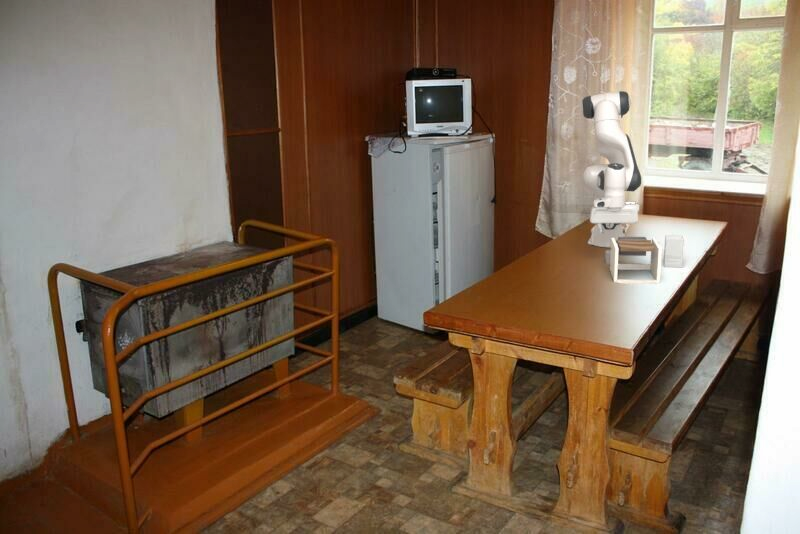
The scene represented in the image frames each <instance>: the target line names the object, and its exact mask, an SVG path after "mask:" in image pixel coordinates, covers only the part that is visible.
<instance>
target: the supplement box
mask: <svg viewBox="0 0 800 534" xmlns="http://www.w3.org/2000/svg"><path fill="white" fill-rule="evenodd" d="M684 241H685V239H684V235H682V234H681V235H680V234H679V235H678V234H665V237H664V252H663V253H664V254H663V267H664V268H683V259H684V258H683V257H684V256H683V255H684V247H685V245H684V244H685V242H684Z"/></svg>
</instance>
